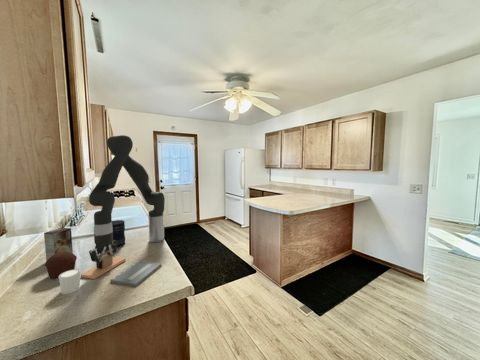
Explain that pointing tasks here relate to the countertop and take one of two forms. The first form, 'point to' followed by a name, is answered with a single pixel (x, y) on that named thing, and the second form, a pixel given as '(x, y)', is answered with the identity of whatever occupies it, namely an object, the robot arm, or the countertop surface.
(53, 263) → the muffin
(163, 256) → the countertop surface
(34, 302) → the countertop surface
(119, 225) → the storage jar
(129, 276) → the board
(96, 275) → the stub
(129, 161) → the robot arm
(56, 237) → the coffee box
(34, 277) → the countertop surface
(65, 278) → the shot glass
